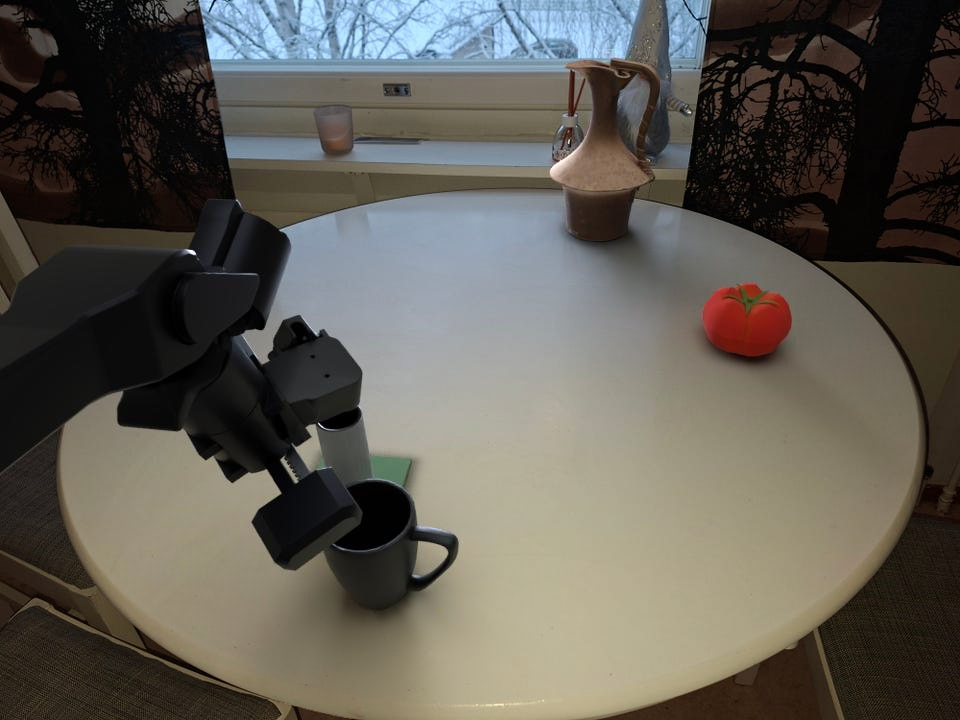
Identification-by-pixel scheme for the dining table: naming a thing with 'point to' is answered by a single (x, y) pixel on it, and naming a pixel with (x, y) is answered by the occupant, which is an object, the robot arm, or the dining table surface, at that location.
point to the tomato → (746, 319)
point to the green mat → (386, 468)
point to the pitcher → (606, 155)
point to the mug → (385, 546)
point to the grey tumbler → (346, 446)
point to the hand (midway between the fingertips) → (297, 481)
